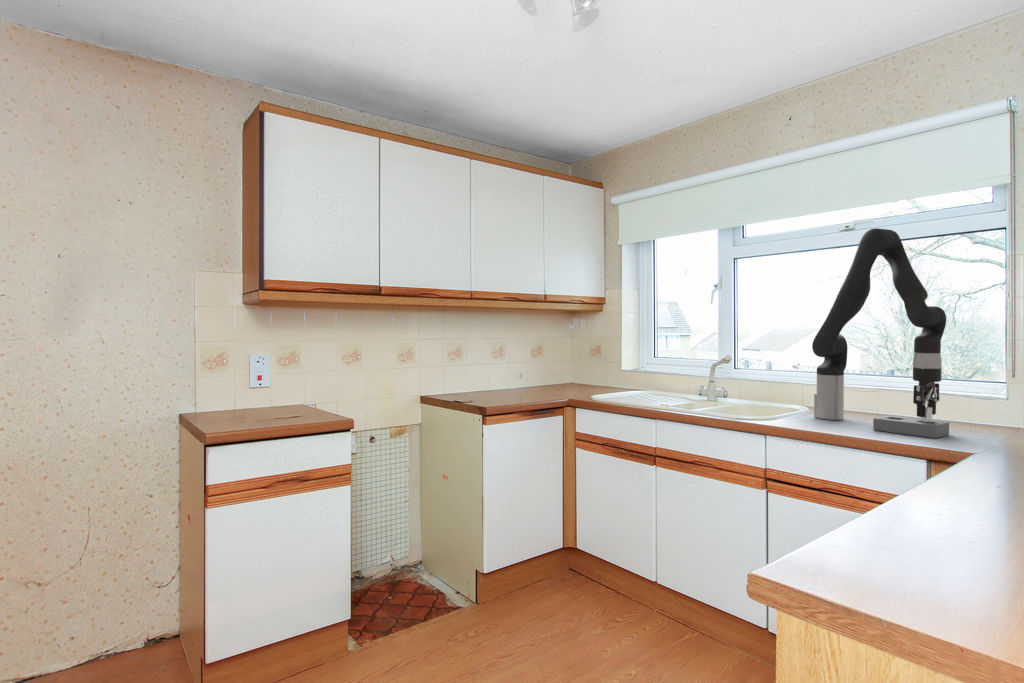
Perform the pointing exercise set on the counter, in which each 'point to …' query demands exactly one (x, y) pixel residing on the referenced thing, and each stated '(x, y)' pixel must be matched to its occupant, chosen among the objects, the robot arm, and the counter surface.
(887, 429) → the hole block
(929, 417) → the steel peg
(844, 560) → the counter surface
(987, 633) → the counter surface
